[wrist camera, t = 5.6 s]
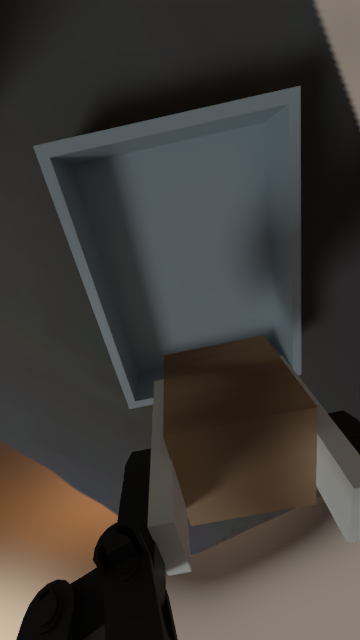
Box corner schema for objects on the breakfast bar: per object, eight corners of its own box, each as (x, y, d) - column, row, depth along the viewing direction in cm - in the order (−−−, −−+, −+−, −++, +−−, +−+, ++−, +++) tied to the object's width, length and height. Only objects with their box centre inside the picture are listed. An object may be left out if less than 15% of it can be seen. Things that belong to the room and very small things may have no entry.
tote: (61, 158, 17) (32, 146, 13) (268, 111, 16) (300, 85, 13) (134, 376, 24) (129, 408, 20) (279, 346, 23) (301, 374, 20)
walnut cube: (183, 428, 15) (191, 526, 11) (164, 355, 13) (162, 436, 9) (269, 412, 15) (316, 504, 10) (263, 335, 13) (317, 407, 8)
